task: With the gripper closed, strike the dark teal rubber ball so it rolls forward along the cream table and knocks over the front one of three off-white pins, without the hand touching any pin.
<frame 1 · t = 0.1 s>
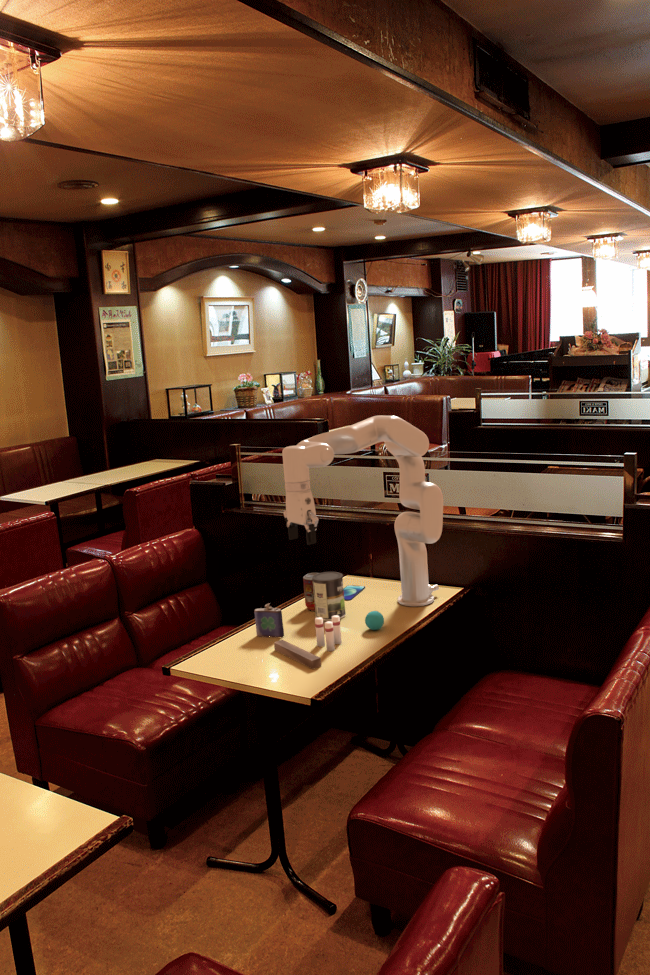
hand: (302, 541, 229), 31 cm above the table, tool pointing down, fingers open, 9 cm apart
back pin left: (330, 649, 224), on the table
smartphone: (349, 594, 275), on the table
ball: (374, 620, 236), on the table
coffee can: (330, 616, 253), on the table
front pin: (337, 643, 228), on the table
back pin right: (321, 645, 228), on the table
flask: (270, 636, 239), on the table
back wall: (297, 657, 220), on the table
soda can: (315, 609, 261), on the table
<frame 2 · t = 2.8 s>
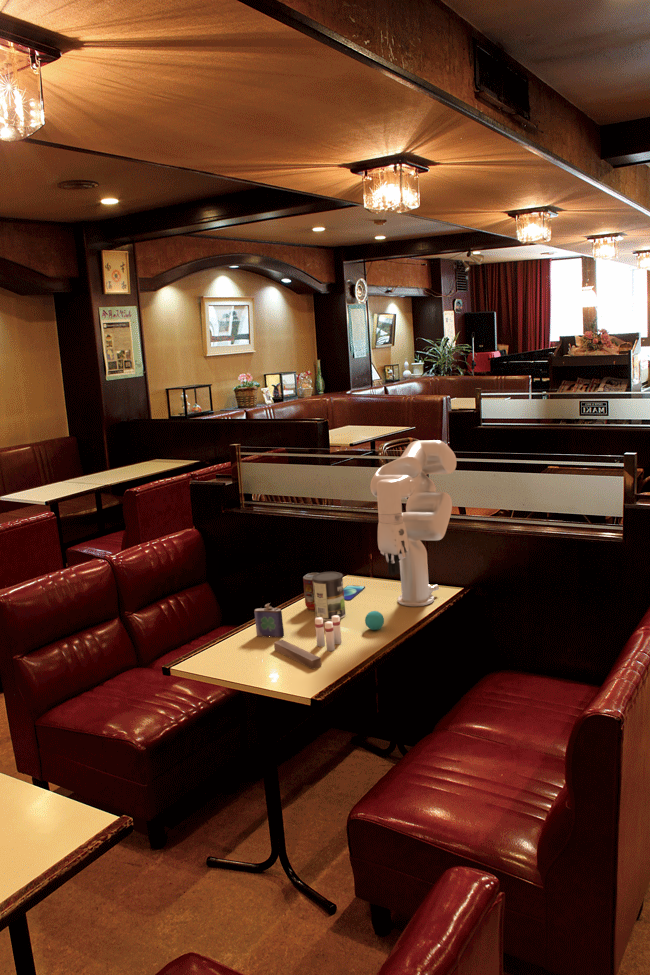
hand: (394, 573, 239), 16 cm above the table, tool pointing down, fingers closed
nothing on the table moved.
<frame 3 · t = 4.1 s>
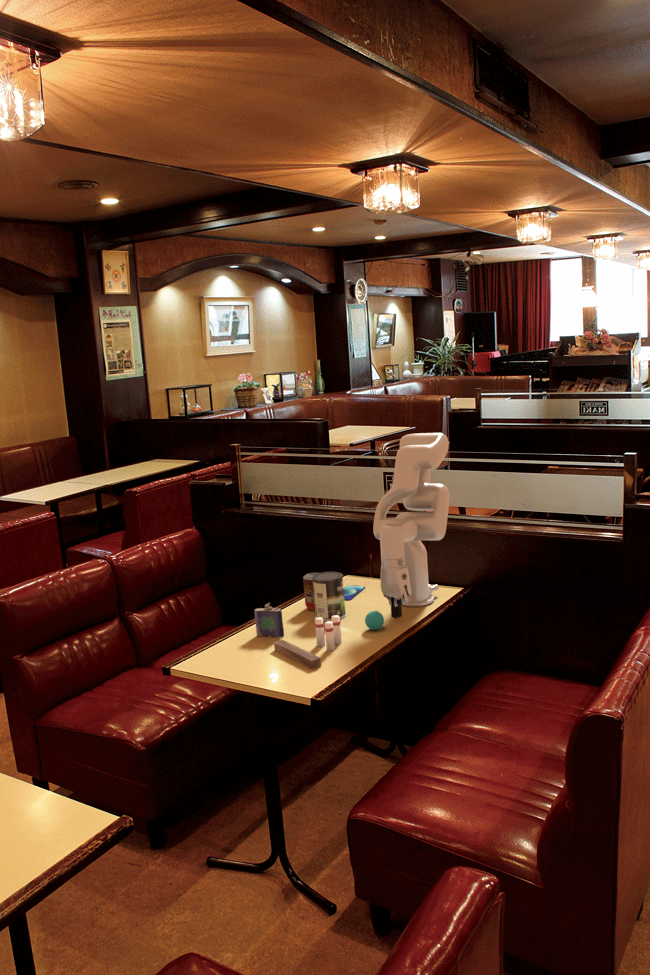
hand: (396, 616, 242), 2 cm above the table, tool pointing down, fingers closed
nothing on the table moved.
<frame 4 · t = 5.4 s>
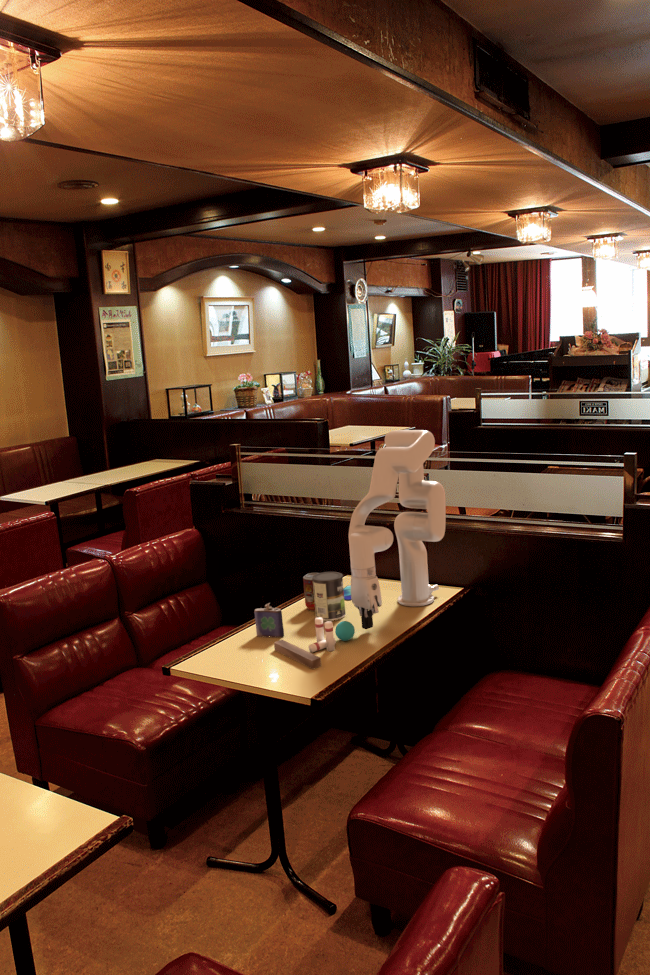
hand: (367, 627, 235), 2 cm above the table, tool pointing down, fingers closed
ball: (345, 630, 230), on the table
front pin: (333, 640, 227), point 1 cm above the table, tilted 89°
everything else where it was.
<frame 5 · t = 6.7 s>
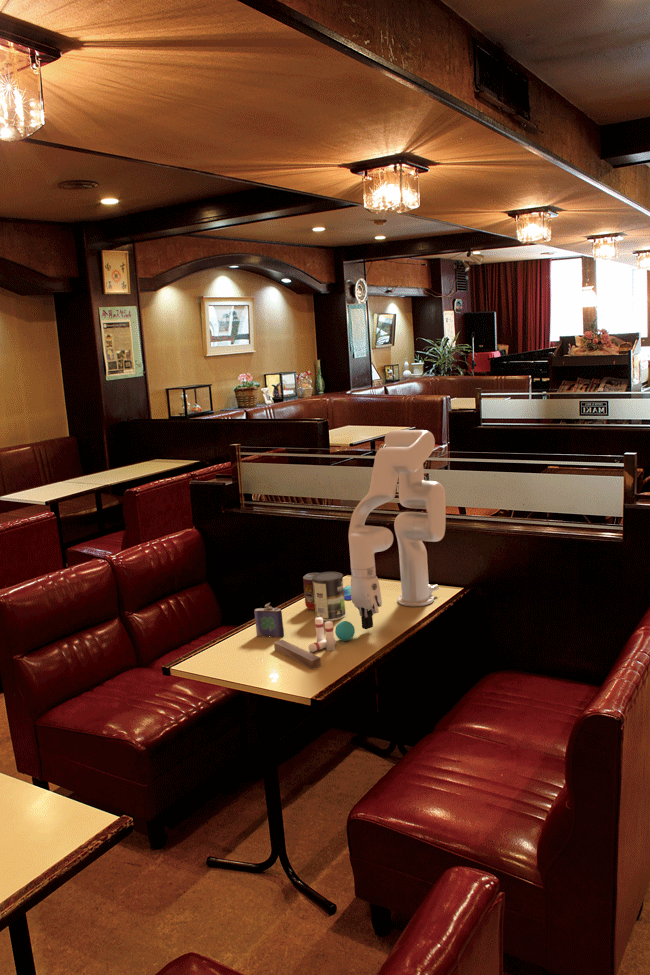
hand: (367, 627, 235), 2 cm above the table, tool pointing down, fingers closed
nothing on the table moved.
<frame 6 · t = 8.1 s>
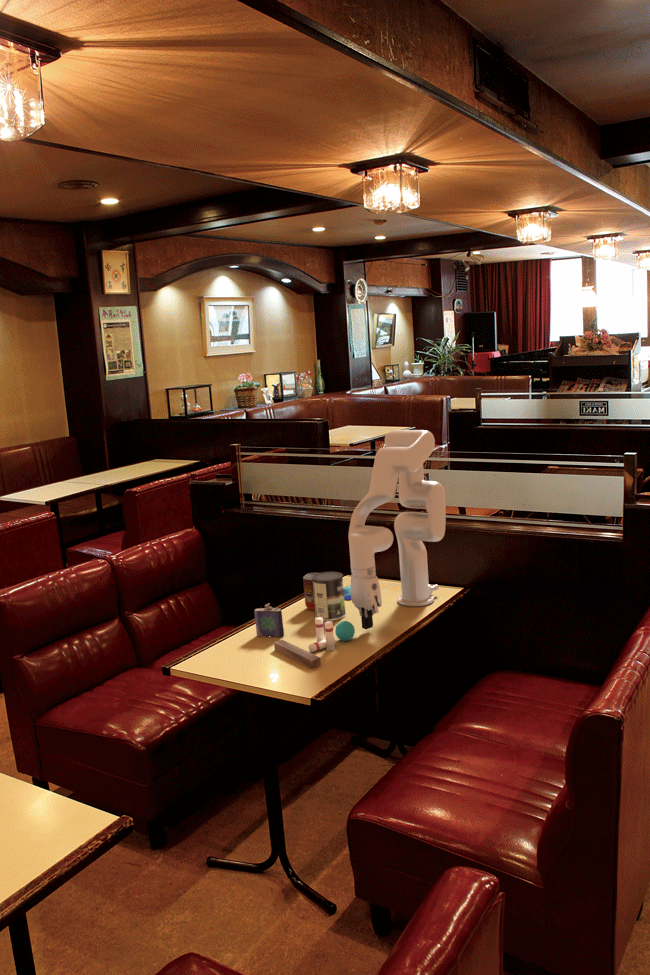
hand: (367, 627, 235), 2 cm above the table, tool pointing down, fingers closed
nothing on the table moved.
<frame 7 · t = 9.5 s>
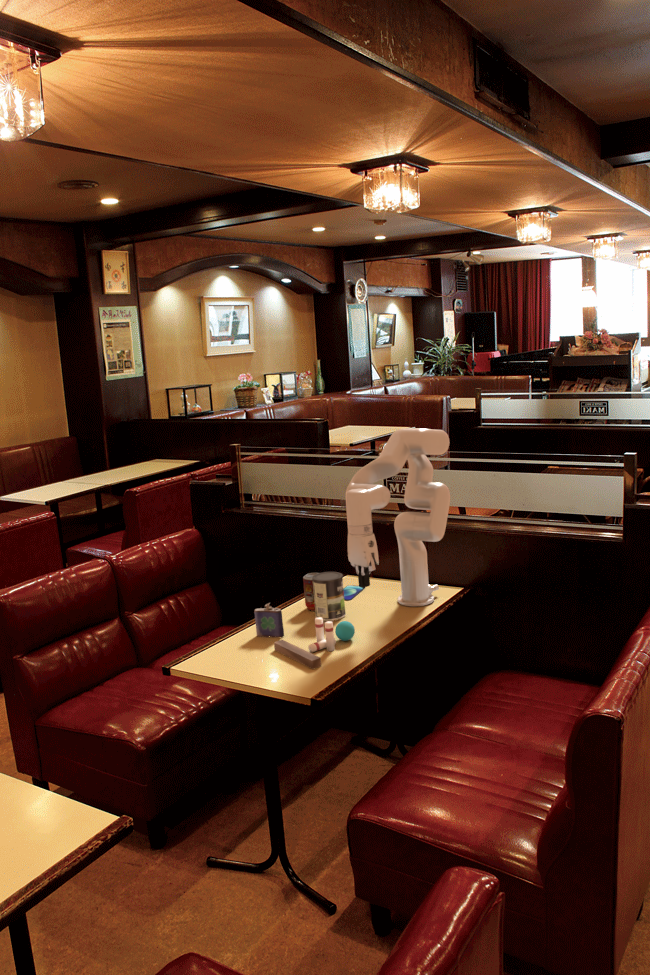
hand: (364, 586, 232), 15 cm above the table, tool pointing down, fingers closed
nothing on the table moved.
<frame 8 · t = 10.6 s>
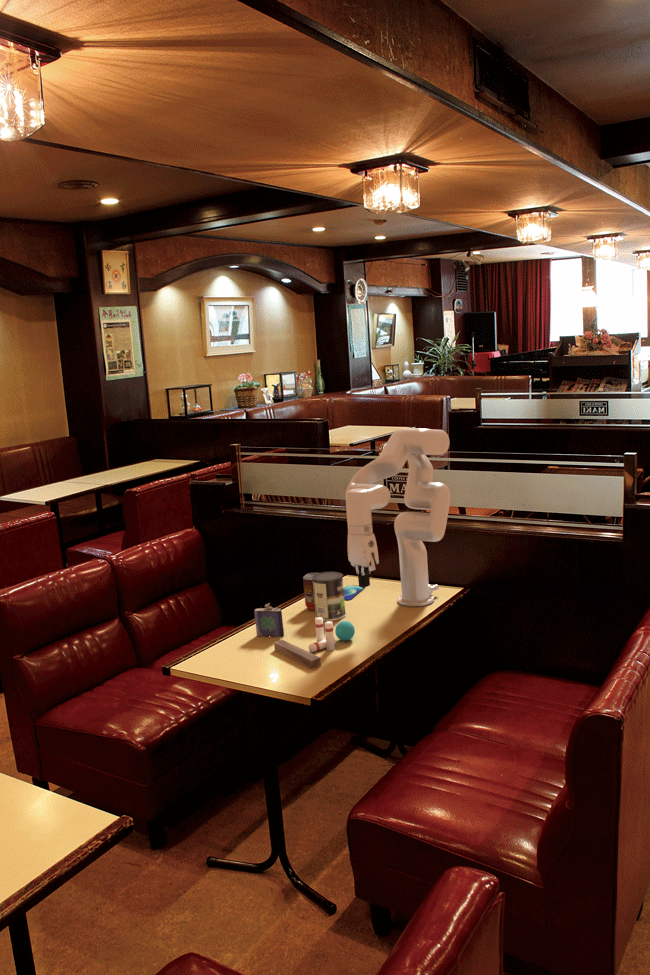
hand: (364, 586, 232), 15 cm above the table, tool pointing down, fingers closed
nothing on the table moved.
at the end: front pin tilted 90°; front pin never touched the robot; ball moved 11.8 cm from its start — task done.
